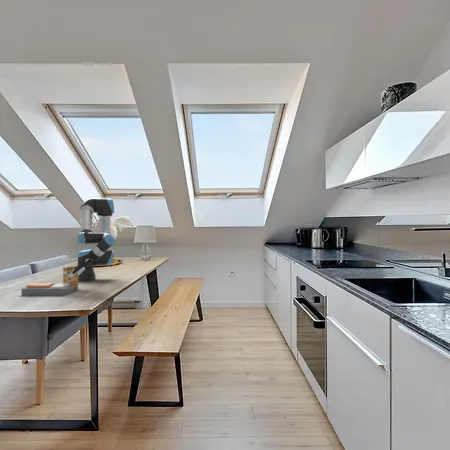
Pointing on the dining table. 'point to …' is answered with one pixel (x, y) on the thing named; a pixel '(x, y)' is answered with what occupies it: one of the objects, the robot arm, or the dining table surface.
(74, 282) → the candy box
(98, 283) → the dining table surface
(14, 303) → the dining table surface
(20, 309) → the dining table surface
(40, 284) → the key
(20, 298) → the dining table surface
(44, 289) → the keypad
